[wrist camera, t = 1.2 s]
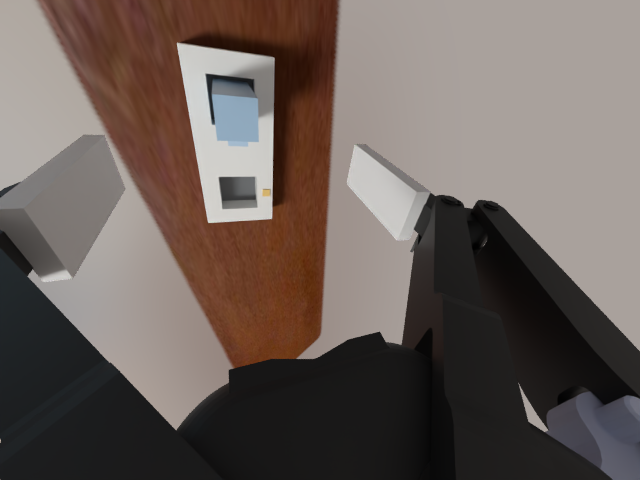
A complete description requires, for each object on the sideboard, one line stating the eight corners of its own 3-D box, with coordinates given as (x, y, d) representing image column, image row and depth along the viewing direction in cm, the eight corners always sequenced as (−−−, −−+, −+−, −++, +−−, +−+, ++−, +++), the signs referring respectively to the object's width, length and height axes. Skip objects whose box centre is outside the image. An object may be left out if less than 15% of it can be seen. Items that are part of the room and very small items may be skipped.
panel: (180, 42, 25) (176, 43, 22) (269, 56, 28) (274, 57, 25) (208, 211, 37) (208, 223, 34) (268, 208, 40) (272, 219, 37)
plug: (212, 78, 27) (211, 94, 19) (246, 81, 28) (257, 98, 21) (217, 120, 29) (218, 148, 22) (248, 122, 30) (258, 149, 23)
